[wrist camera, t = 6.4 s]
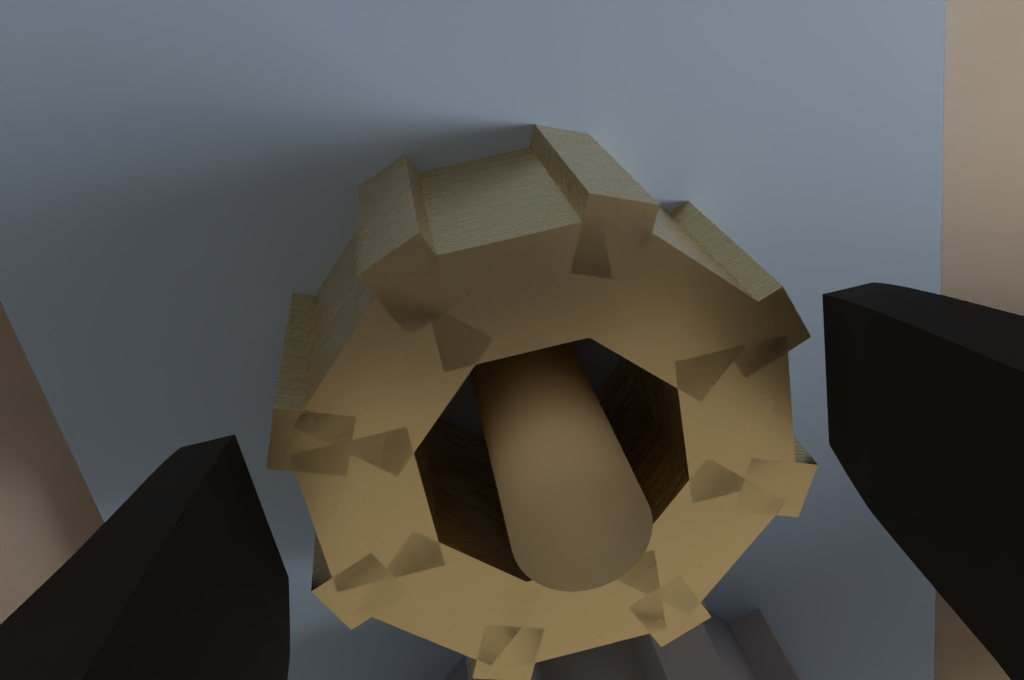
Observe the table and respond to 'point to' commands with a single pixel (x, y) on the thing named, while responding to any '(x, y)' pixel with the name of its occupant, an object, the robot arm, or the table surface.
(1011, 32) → the table surface
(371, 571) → the brass cog
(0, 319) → the table surface
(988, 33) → the table surface
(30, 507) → the table surface
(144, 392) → the gear board
